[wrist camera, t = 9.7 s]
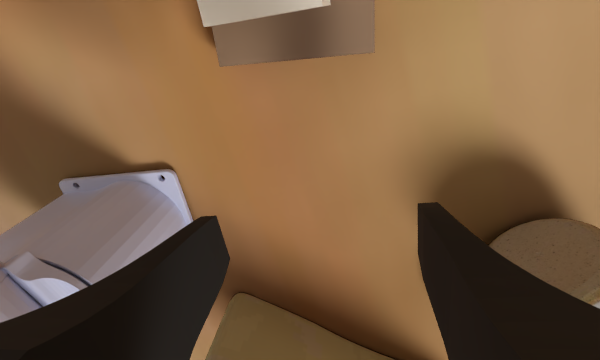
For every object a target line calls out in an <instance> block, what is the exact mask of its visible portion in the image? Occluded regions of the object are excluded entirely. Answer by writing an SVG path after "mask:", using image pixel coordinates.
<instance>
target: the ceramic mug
mask: <svg viewBox="0 0 600 360" xmlns="http://www.w3.org/2000/svg"><path fill="white" fill-rule="evenodd" d="M489 247H491V248H492V249H494V250H495V251H496V252H498V253H499V254H500V255H502V256H503V257H505V258H506V259H508V260H509V261H511V262H513V263H514V264H516V265H517V266H519V267H521V268H522V269H524V270H526V271H527V272H529V273H530V274H532V275H534V276H536V277H537V278H539V279H541V280H543V281H545V282H546V283H548V284H550V285H552V286H554V287H556V288H558V289H560V290H562V291H564V292H566V293H568V294H570V295H572V296H574V297H576V298H578V299H580V300H582V301H584V302H586V303H588V304H591V305H593V306H595V307H597V308H600V229H599V228H597V227H595V226H593V225H590V224H587V223H584V222H581V221H577V220H571V219H562V218H559V219H541V220H535V221H531V222H528V223H524V224H521V225H518V226H516V227H513V228H511V229H509V230H508V231H506V232H504V233H503V234H501V235H500V236H498V237H497V238H496V239H495V240H494V241H493V242H491V244H490V245H489Z"/></svg>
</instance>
